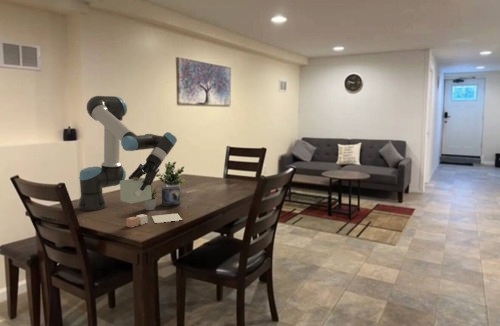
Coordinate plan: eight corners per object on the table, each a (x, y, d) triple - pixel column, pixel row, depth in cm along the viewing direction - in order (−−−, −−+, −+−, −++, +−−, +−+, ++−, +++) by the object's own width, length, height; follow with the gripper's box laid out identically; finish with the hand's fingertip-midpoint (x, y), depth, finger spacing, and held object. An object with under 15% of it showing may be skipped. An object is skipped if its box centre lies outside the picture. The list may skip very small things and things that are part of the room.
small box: (162, 206, 216) (161, 189, 215) (161, 203, 222) (161, 187, 221) (180, 205, 219) (179, 188, 217) (179, 202, 225) (179, 186, 224)
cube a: (141, 225, 181) (140, 217, 181) (136, 223, 184) (135, 215, 183) (147, 223, 184) (147, 215, 184) (142, 221, 187) (142, 214, 186)
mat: (155, 223, 183) (155, 222, 183) (151, 216, 195) (151, 215, 195) (182, 220, 189) (182, 219, 189) (177, 214, 200) (177, 213, 200)
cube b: (131, 227, 177) (131, 219, 176) (126, 226, 179) (126, 218, 179) (138, 225, 180) (138, 217, 179) (133, 224, 182) (133, 216, 182)
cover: (131, 203, 173) (130, 180, 171) (120, 200, 178) (119, 177, 176) (151, 198, 182) (151, 176, 181) (141, 196, 187) (140, 174, 186)
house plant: (131, 208, 211) (130, 180, 209) (152, 204, 221) (152, 177, 218) (143, 213, 201) (142, 184, 199) (165, 208, 210) (164, 181, 208)
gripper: (174, 164, 183) (148, 201, 173) (147, 160, 196) (122, 194, 186) (165, 155, 178) (139, 192, 168) (138, 151, 191) (112, 186, 181)
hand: (130, 193), depth 177 cm, fingers closed on cover, 8 cm apart
